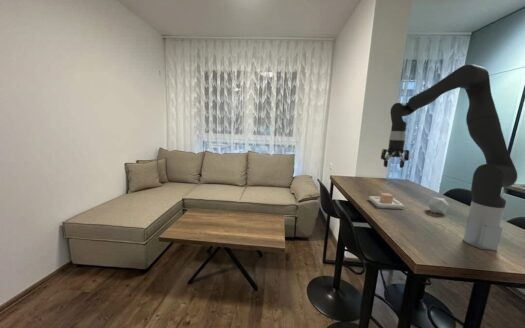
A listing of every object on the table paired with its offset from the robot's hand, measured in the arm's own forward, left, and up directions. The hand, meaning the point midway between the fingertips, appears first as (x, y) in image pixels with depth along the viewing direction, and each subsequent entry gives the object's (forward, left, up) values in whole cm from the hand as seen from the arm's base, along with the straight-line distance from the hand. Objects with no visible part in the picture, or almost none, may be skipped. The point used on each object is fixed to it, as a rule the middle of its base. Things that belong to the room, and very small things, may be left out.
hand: (393, 167), depth 127 cm
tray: (+1, +1, -23) cm, 23 cm away
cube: (+1, +1, -22) cm, 22 cm away
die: (-7, -23, -23) cm, 33 cm away
